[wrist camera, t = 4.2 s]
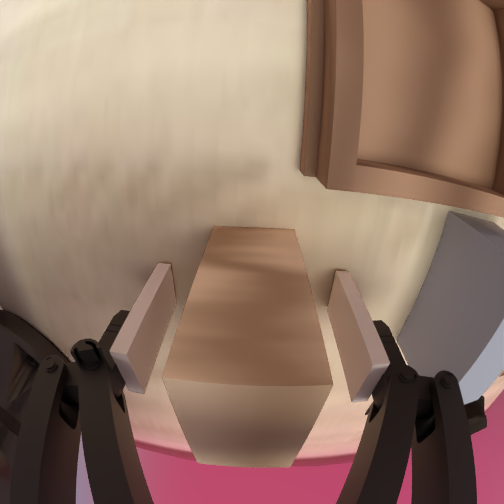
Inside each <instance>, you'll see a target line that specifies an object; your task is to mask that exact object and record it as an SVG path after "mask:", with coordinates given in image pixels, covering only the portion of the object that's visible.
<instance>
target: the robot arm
mask: <svg viewBox="0 0 504 504" xmlns="http://www.w3.org/2000/svg"><path fill="white" fill-rule="evenodd" d="M175 306H176V297H175V290H174V283H173V276H172V269H171V264H164V263H158V264H157V266H156V267H155V269H154V271H153V272H152V274H151V276H150V278H149V279H148V281H147V283H146V284H145V286H144V288H143V290H142V291H141V293H140V295H139V297H138V298H137V300H136V302H135V304H134V305H133V307H132V309H131V311H125V310H121V311H120V312H118V313H117V314H116V315H115V316H114V317H113V318H112V320H111V322H110V325H108V327H107V329H106V331H105V332H104V334H103V336H102V338H101V339H100V341H99V343H98V342H97V341H96V340H93V339H83V340H80V341H78V342H77V343H75V345H74V346H73V347H72V350H71V354H72V356H73V358H74V359H75V361H76V362H69V361H68V360H67V359H66V358H65V357H64V356H63V355H62V354H61V353H60V352H59V351H58V350H57V349H56V348H55V347H54V346H53V345H52V344H51V343H50V342H49V341H48V340H47V339H46V338H44V337H43V336H42V335H41V334H40V333H39V332H37V331H36V330H35V329H34V328H32V327H31V326H30V325H29V324H27V323H26V322H24V321H23V320H21V319H20V318H18V317H17V316H15V315H13V314H11V313H9V312H7V311H4V310H0V504H76V475H77V462H78V453H79V444H80V435H81V433H82V442H83V449H84V456H85V462H86V468H87V473H88V479H89V483H90V488H91V492H92V496H93V500H94V504H154V503H153V501H152V497H151V495H150V492H149V489H148V486H147V483H146V480H145V477H144V474H143V470H142V467H141V464H140V460H139V457H138V453H137V449H136V445H135V442H134V437H133V433H132V429H131V425H130V420H129V415H128V410H127V405H126V400H125V395H124V393H123V388H124V386H125V384H126V386H127V388H128V390H129V391H132V392H137V393H142V394H144V393H145V390H146V387H147V384H148V381H149V378H150V375H151V372H152V369H153V366H154V363H155V360H156V358H157V355H158V352H159V349H160V346H161V343H162V341H163V338H164V335H165V332H166V330H167V327H168V324H169V322H170V319H171V316H172V314H173V311H174V308H175ZM327 311H328V315H329V318H330V322H331V325H332V329H333V332H334V336H335V339H336V343H337V347H338V350H339V354H340V358H341V362H342V366H343V369H344V373H345V377H346V381H347V385H348V390H349V394H350V398H351V402H352V403H353V402H361V401H367V400H368V399H369V397H370V396H371V394H372V396H373V400H374V401H373V403H372V404H371V405H370V407H369V408H368V410H367V411H366V413H365V415H367V414H368V413H369V414H368V417H367V421H366V424H365V428H364V431H363V434H362V438H361V441H360V444H359V447H358V450H357V453H356V455H355V458H354V461H353V464H352V467H351V469H350V472H349V474H348V477H347V479H346V482H345V484H344V487H343V489H342V491H341V494H340V496H339V498H338V500H337V503H336V504H396V503H397V499H398V496H399V493H400V490H401V486H402V483H403V479H404V475H405V471H406V467H407V463H408V458H409V453H410V449H411V448H412V503H411V504H477V492H476V475H475V465H474V456H473V449H472V442H471V436H470V430H469V425H468V420H467V415H466V411H465V406H464V402H463V398H462V394H461V390H460V387H459V383H458V380H457V378H456V376H455V375H454V374H453V373H451V372H449V371H445V370H443V371H439V372H438V373H437V374H436V375H435V377H427V376H420V375H418V373H417V371H416V370H415V369H413V368H412V367H410V366H408V365H406V363H405V361H404V359H403V357H402V355H401V352H400V350H399V348H398V346H397V344H396V343H395V339H394V337H393V336H392V333H391V331H390V329H389V327H388V326H387V325H386V324H385V323H384V322H383V321H382V320H378V321H372V319H371V317H370V314H369V312H368V310H367V308H366V306H365V304H364V302H363V299H362V297H361V295H360V293H359V291H358V289H357V287H356V285H355V283H354V281H353V279H352V277H351V275H350V273H349V271H336V273H335V278H334V282H333V287H332V291H331V295H330V299H329V304H328V308H327Z"/></svg>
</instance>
